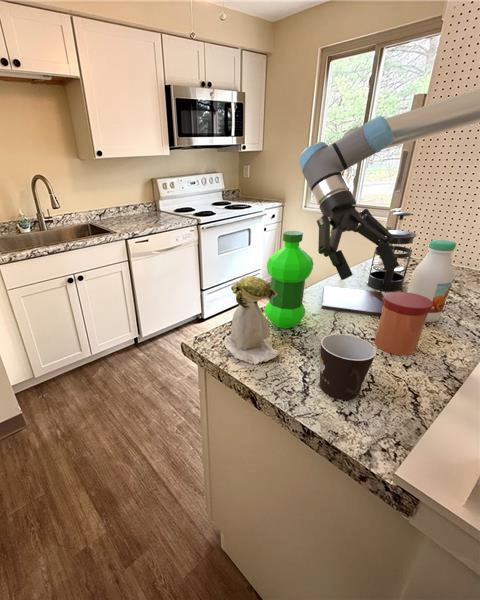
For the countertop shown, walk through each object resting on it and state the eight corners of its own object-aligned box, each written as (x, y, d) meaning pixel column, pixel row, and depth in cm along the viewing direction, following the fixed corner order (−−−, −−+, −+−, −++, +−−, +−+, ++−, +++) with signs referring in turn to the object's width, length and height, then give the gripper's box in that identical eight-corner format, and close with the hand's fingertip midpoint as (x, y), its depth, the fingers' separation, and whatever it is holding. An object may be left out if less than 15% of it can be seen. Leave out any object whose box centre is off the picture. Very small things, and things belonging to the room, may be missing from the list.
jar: (412, 340, 72) (426, 296, 67) (418, 358, 66) (434, 311, 62) (372, 334, 76) (383, 291, 71) (375, 350, 70) (387, 305, 65)
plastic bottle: (276, 311, 91) (285, 226, 80) (312, 323, 83) (326, 231, 72) (255, 323, 86) (261, 234, 75) (290, 337, 78) (302, 240, 67)
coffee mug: (319, 369, 66) (326, 329, 62) (367, 384, 61) (379, 342, 57) (303, 401, 59) (310, 358, 54) (357, 422, 53) (369, 376, 49)
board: (380, 294, 94) (381, 291, 94) (385, 317, 83) (386, 313, 82) (324, 288, 101) (324, 286, 101) (321, 308, 90) (321, 305, 89)
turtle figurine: (228, 364, 71) (230, 292, 63) (221, 334, 82) (222, 270, 74) (282, 364, 69) (291, 289, 61) (267, 333, 81) (273, 267, 73)
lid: (426, 301, 68) (428, 294, 67) (434, 318, 62) (437, 310, 61) (380, 296, 72) (382, 289, 71) (384, 311, 66) (385, 304, 65)
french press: (366, 277, 106) (382, 209, 96) (401, 281, 101) (421, 209, 91) (366, 290, 97) (382, 216, 87) (404, 295, 92) (426, 217, 82)
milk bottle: (412, 323, 79) (436, 247, 70) (394, 309, 86) (414, 238, 77) (446, 322, 77) (475, 245, 69) (426, 308, 84) (449, 236, 76)
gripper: (361, 202, 86) (397, 271, 79) (283, 212, 80) (316, 287, 74) (385, 183, 79) (426, 257, 72) (301, 194, 73) (338, 275, 67)
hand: (370, 273), depth 73 cm, fingers open, 13 cm apart
